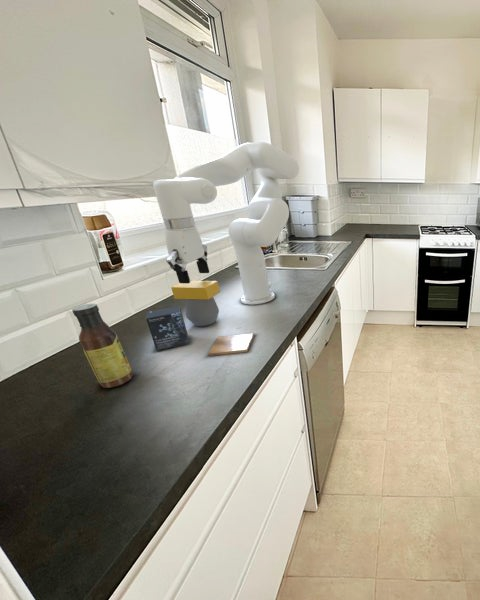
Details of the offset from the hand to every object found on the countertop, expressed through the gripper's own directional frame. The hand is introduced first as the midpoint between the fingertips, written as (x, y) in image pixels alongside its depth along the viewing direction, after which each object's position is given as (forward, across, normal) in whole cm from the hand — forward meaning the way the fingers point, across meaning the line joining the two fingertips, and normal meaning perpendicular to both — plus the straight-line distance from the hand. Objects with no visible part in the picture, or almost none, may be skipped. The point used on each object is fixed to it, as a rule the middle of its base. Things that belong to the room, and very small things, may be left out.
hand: (195, 277), depth 100 cm
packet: (+6, +1, 0) cm, 6 cm away
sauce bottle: (+16, +33, -2) cm, 36 cm away
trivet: (+16, +15, +17) cm, 27 cm away
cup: (+16, +1, 0) cm, 16 cm away
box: (+16, +15, -1) cm, 22 cm away
